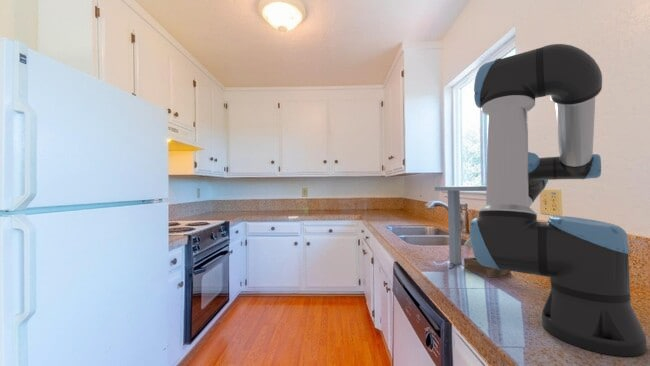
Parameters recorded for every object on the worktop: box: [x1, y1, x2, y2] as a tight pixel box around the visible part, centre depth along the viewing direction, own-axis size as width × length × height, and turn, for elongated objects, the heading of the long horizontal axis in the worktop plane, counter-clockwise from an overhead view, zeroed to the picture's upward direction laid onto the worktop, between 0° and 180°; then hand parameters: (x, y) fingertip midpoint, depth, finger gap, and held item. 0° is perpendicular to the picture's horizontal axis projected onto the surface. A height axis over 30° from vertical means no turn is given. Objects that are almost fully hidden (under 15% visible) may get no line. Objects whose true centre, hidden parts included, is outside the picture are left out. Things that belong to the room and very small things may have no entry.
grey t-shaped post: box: [434, 185, 487, 265], centre depth 101 cm, size 12×19×30 cm, turn 22°
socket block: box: [463, 256, 512, 278], centre depth 98 cm, size 10×10×4 cm
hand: (480, 251), depth 97 cm, fingers open, 13 cm apart
